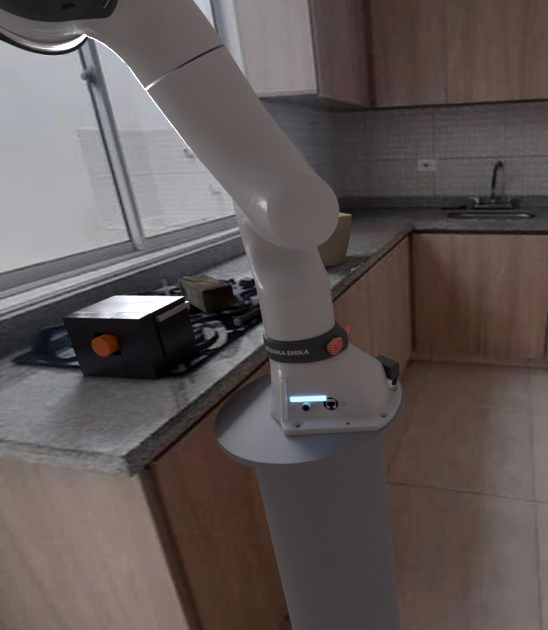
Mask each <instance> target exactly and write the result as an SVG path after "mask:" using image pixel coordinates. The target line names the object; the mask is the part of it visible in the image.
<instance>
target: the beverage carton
mask: <svg viewBox="0 0 548 630" xmlns="http://www.w3.org/2000/svg"><path fill="white" fill-rule="evenodd" d="M177 283H178V287H179V290H180V294H181V295H180V296H184V297H185V301H189V304H190V305H192V306H194V307H195V308H197V309H199V310H201V311H202V312H204V313H206V314H210V313H214V312H218V311H221V310H226V309H230V308H233V307H236V301H235V300H236V299H235V295H234V289H233V286H232V285H231V284H229V283H227V282H224V281H222V280H219V279H217V278H215V277H212V276H210V275H208V274H199V275H194V276H184V277H182V278H180V279H178V280H177Z"/></svg>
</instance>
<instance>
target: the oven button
mask: <svg viewBox="0 0 548 630" xmlns="http://www.w3.org/2000/svg"><path fill="white" fill-rule="evenodd" d="M92 348H93V350H94V351H95V352H96V353H97V354H98V355H100V356H104V357H105V356H108V355H110V354H112V353H113V352H115V351H117V350H119V349H120V347H119V344H118V341H117V338H116V335H115V333H105V334H103V335H101V336H99V337H97V338H95V339H94V340H93V341H92Z"/></svg>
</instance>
